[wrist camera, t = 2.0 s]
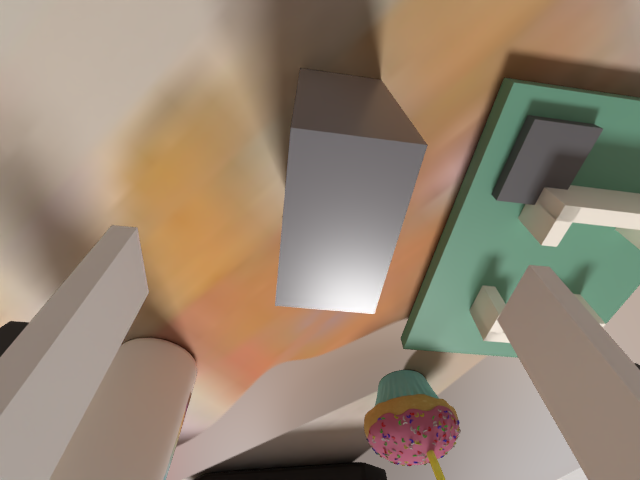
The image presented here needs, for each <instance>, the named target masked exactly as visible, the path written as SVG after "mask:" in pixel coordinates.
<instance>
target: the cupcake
mask: <svg viewBox="0 0 640 480" xmlns="http://www.w3.org/2000/svg"><path fill="white" fill-rule="evenodd" d="M459 430H460V429H459V420H458V417H457V414H456V411H455V409H454V408H453V407H452V406H450V405H449V404H448V403H447V402H446V401H445V400H444V399H439V398H438V396H437V395H436V394H435V392H434V391H433V390H432V388H431V387H430V385H429V384H428V382H427V380H426V379H425V377H424V376H423V375H422V374H420V373H418V372H416V371H412V370H399V371H395V372H392V373H389V374H387V375H386V376H384V377H383V378H382V379H381V381H380V383H379V386H378V394H377V399H376V404H375V407H374V408H373V409H371V410H370V411H369V412H368V413H367V414H366V415H365V419H364V431H365V434H366V437H367V440H368V442H369V445H370V446H371V447H372V449H373V450H374V451H375V453H376V454H379V455H380V457H384V458H386V459H387V460H389V461H390V462H391V463H394V464H397V463H398V464H401V465H402V466H404V465H407V466H411V465H421V464H424V465H426V464H427V463H430V464H431V466H432V469H433V472H434V474H435V477H436V479H437V480H445V477H444V475H443V472H442V470H441V468H440V465H439V463H438V461H437V459H439V458H442V457H443V456H444V455H445V454H447V452H448V451H449V450H451V449H452V447H454V446H453V445H454V444H456V442H455V441H456V439H457V438H458V435H459V433H460V432H461V431H459Z"/></svg>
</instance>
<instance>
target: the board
mask: <svg viewBox="0 0 640 480" xmlns="http://www.w3.org/2000/svg"><path fill="white" fill-rule="evenodd" d="M529 265H536V266H547V267H550V268H551V269H552V270H553V271H554V272H555V274H556V275H557V276H558V277H559V278H560V279H561V280H562V282H563V283H564V284H565V285H566V286H567V287H568V288H569V290H570V291H571V292H572V293H573V294H574V295H575V296H576V298H577V299H578V300H579V301H580V302H581V303H582V304H583V306H584V307H585V308H586V309H587V310H588V311H589V312H590V314H591V315H592V316H593V317H594V318H595V319H596V321H597V322H598V323H599V324H600V325H601V326H602V327H604V326H605V325H606V323H607V322H608V321H609V320H610V319H611V317H612V316H613V315H614V314H615V313H616V312H617V311H618V309H619V308H620V307H621V306H622V305H623V304H624V302H625V301H626V300H627V299H628V298H629V297H630V295H631V294H632V293H633V292H634V291H635V290H636V289H637V287H638V286H639V285H640V98H638V97H632V96H625V95H618V94H611V93H605V92H598V91H591V90H584V89H578V88H571V87H564V86H557V85H551V84H544V83H537V82H530V81H524V80H517V79H510V78H504V79H503V82H502V85H501V87H500V90H499V92H498V95H497V97H496V100H495V102H494V105H493V107H492V110H491V112H490V115H489V117H488V120H487V122H486V125H485V127H484V130H483V132H482V135H481V137H480V140H479V142H478V145H477V147H476V150H475V152H474V155H473V157H472V160H471V163H470V165H469V168H468V170H467V173H466V175H465V178H464V180H463V183H462V185H461V188H460V190H459V193H458V195H457V198H456V200H455V203H454V205H453V208H452V210H451V213H450V215H449V218H448V220H447V223H446V225H445V228H444V230H443V233H442V235H441V238H440V241H439V243H438V246H437V248H436V251H435V253H434V256H433V258H432V261H431V263H430V266H429V268H428V271H427V273H426V276H425V278H424V281H423V283H422V286H421V288H420V291H419V293H418V296H417V298H416V301H415V303H414V306H413V308H412V311H411V313H410V316H409V318H408V321H407V324H406V326H405V329H404V331H403V334H402V336H401V341H402V345H403V349H411V350H425V351H438V352H451V353H465V354H478V355H492V356H505V357H518V356H517V354H516V352H515V351H514V349H513V347H512V345H511V344H510V342H509V340H508V338H507V337H506V335H505V333H504V331H503V330H502V328H501V326H500V324H499V323H498V321H497V319H498V317H499V315H500V314H501V312H502V310H503V309H504V307H505V305H506V304H507V302H508V300H509V298H510V297H511V295H512V293H513V292H514V290H515V288H516V286H517V285H518V283H519V281H520V280H521V278H522V276H523V274H524V273H525V271H526V269H527V268H528V266H529Z"/></svg>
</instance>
